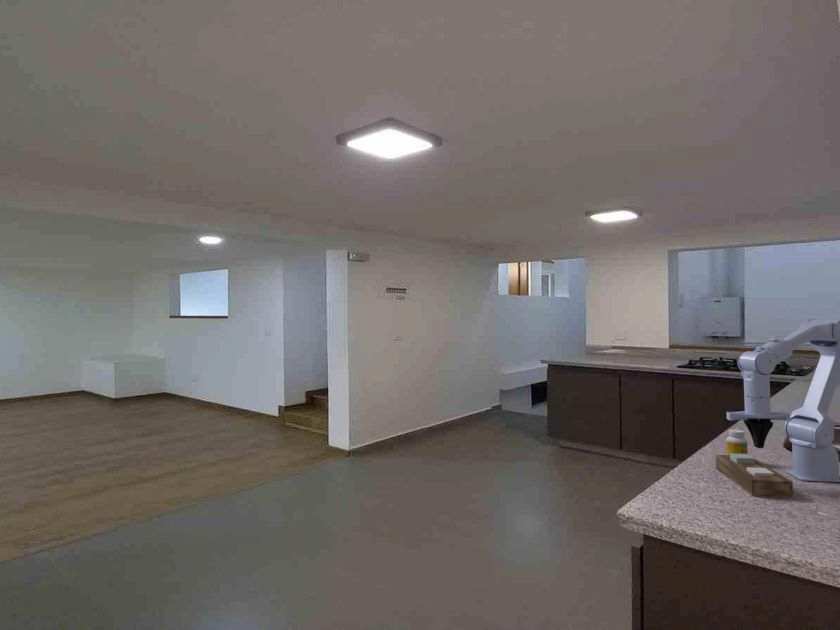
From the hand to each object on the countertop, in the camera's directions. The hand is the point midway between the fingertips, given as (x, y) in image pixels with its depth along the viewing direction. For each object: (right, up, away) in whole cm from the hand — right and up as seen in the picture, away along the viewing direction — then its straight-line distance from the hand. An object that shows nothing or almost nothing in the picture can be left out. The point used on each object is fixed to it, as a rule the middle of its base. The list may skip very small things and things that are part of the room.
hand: (758, 447), depth 129 cm
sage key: (-1, -7, +6) cm, 9 cm away
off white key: (-3, -8, -4) cm, 9 cm away
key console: (-2, -10, +1) cm, 10 cm away
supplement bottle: (+6, -10, +18) cm, 21 cm away
